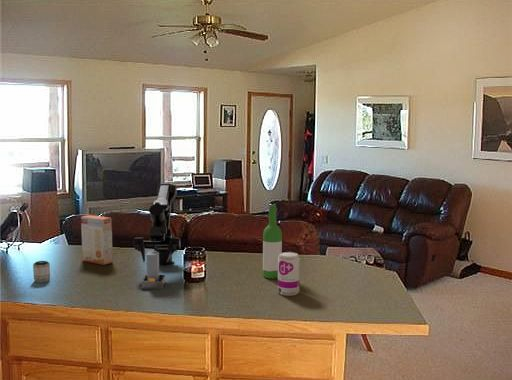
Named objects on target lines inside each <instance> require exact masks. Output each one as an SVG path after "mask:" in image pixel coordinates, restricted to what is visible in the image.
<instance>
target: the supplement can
mask: <svg viewBox="0 0 512 380" xmlns="http://www.w3.org/2000/svg"><path fill="white" fill-rule="evenodd" d="M300 262H301V259H300V256H299V254H298V253H297V252H293V251H285V252H282V253H280V255H279V257H278V278H277V292H278V293H279V294H280V295H282V296H286V297H287V296H288V297H292V296H296V295H298V293H300V273H301V272H300V268H301V266H300Z"/></svg>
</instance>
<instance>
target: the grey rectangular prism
mask: <svg viewBox="0 0 512 380" xmlns="http://www.w3.org/2000/svg"><path fill="white" fill-rule="evenodd" d="M146 275H147V281H149V278H155V281H159V275H160V265H159V252H157V251H148V252H147V253H146Z"/></svg>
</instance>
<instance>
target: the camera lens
mask: <svg viewBox="0 0 512 380" xmlns="http://www.w3.org/2000/svg"><path fill="white" fill-rule="evenodd" d="M32 266H33V267H32V268H33V269H32V270H33V280H34V282H35V283H36V282H37V283H36V284H42V283H43V282H44V283H47V282H49V281H50V280H51V279H50V278H51V268H50V267H51V264H50V262H49V261H46V260H38V261H35V262H34V263H33V265H32Z"/></svg>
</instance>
